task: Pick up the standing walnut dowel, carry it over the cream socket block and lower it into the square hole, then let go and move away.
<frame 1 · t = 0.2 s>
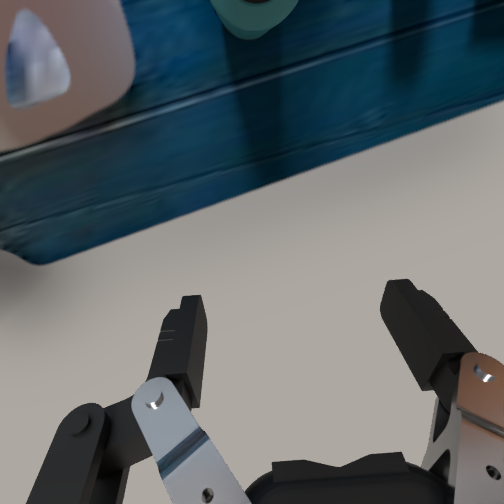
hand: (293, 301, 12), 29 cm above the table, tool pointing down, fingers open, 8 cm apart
beverage bottle: (246, 3, 28), on the table
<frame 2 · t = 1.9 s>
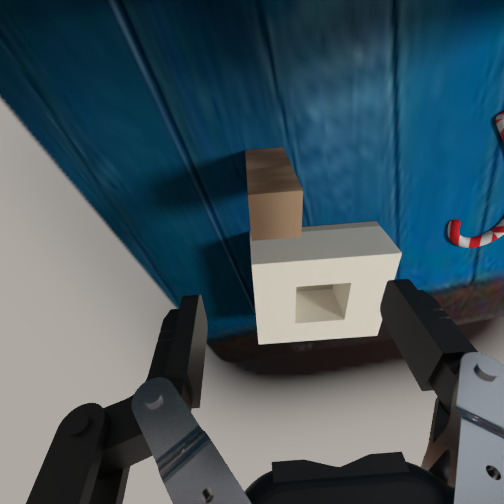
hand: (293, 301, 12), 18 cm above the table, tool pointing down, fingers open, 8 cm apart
socket block: (309, 268, 34), on the table
candy cane: (483, 184, 29), on the table
peg: (264, 167, 27), on the table
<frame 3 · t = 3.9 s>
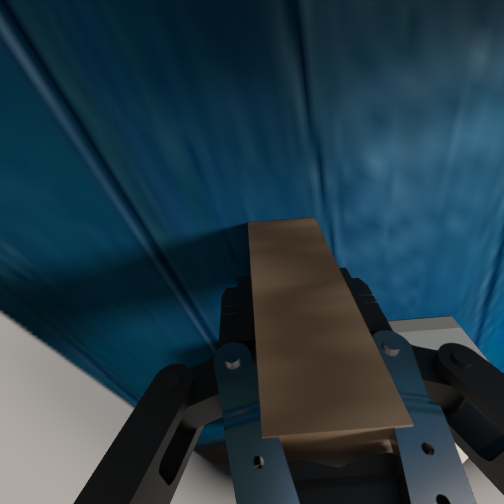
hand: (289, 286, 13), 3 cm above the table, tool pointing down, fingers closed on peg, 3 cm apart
socket block: (341, 372, 23), on the table
peg: (281, 247, 16), on the table, touching gripper
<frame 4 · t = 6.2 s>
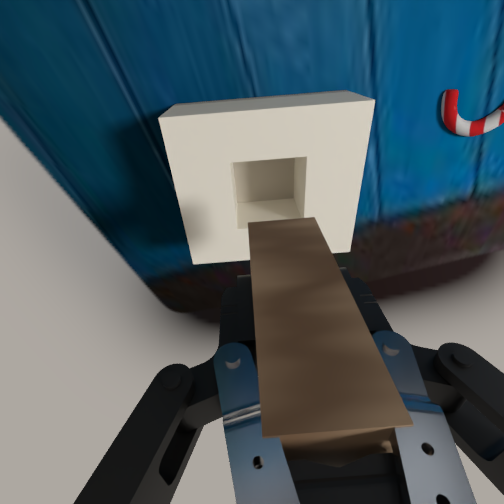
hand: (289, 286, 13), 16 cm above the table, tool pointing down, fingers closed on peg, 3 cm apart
socket block: (263, 169, 26), on the table
candy cane: (488, 32, 22), on the table
peg: (281, 247, 16), point 13 cm above the table, touching gripper
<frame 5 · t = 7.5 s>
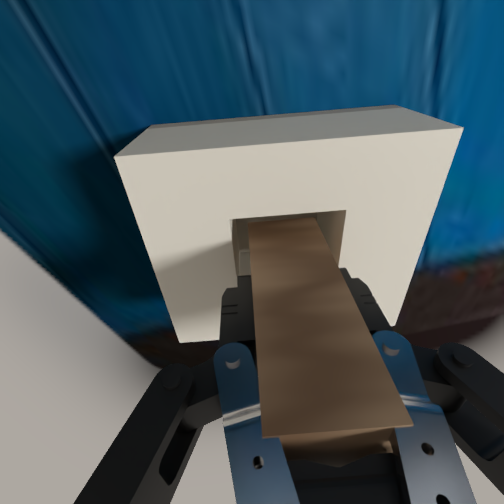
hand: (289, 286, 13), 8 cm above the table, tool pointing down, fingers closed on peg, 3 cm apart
socket block: (274, 209, 20), on the table
peg: (281, 247, 16), point 5 cm above the table, touching gripper
when the fingers open (7 cm above the table, at t = 8.5 s): peg drops 2 cm, resting on socket block.
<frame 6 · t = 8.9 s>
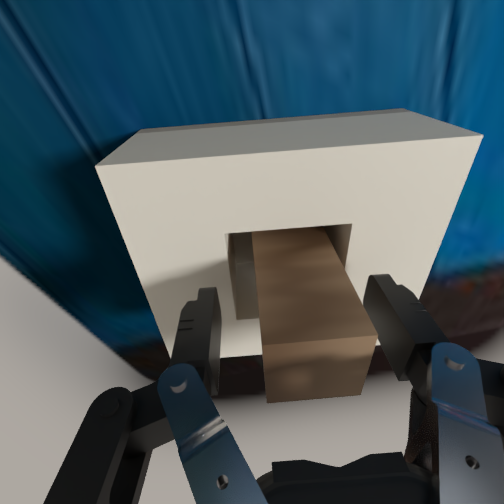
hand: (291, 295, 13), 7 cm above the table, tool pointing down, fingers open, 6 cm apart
socket block: (273, 218, 18), on the table
peg: (278, 224, 18), point 1 cm above the table, touching socket block
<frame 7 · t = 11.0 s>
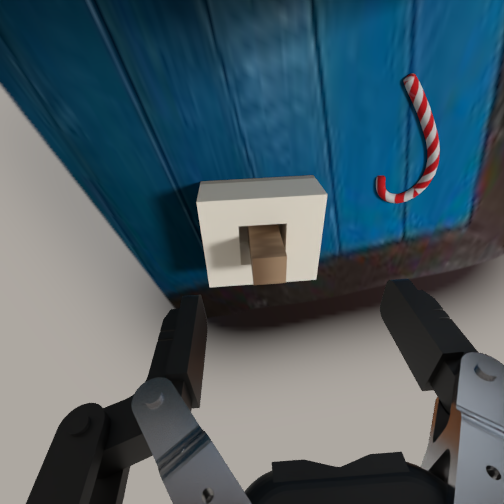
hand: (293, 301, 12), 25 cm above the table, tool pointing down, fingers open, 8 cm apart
socket block: (258, 221, 38), on the table
candy cane: (402, 144, 34), on the table
peg: (260, 224, 37), point 1 cm above the table, touching socket block
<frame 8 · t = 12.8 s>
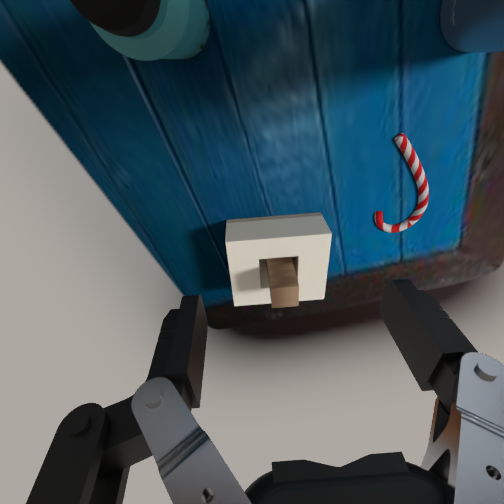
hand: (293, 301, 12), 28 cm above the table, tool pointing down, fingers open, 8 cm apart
socket block: (274, 249, 45), on the table
beverage bottle: (180, 20, 28), on the table
candy cane: (396, 185, 40), on the table
peg: (276, 252, 44), point 1 cm above the table, touching socket block
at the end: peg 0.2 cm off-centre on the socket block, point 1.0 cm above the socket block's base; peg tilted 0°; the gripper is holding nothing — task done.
